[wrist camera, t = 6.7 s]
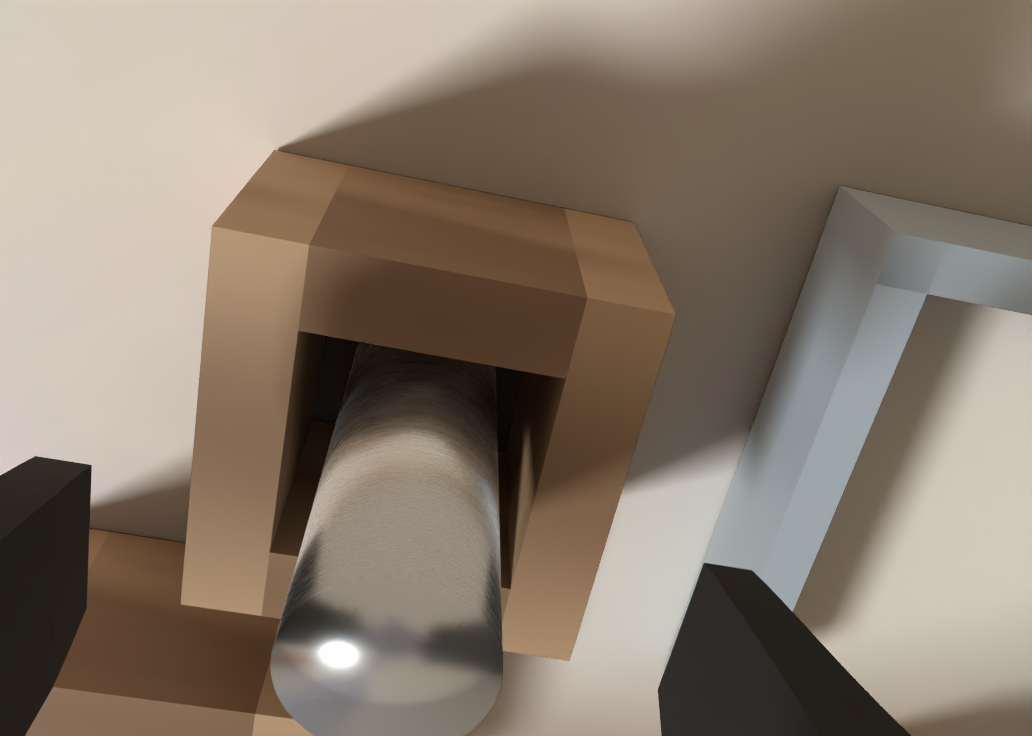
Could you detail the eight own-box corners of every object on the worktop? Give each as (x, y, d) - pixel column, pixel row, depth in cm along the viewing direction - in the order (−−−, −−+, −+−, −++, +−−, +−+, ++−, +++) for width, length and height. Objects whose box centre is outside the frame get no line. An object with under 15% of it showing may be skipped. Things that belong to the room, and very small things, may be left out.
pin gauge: (479, 420, 18) (475, 771, 11) (349, 394, 18) (256, 737, 10) (508, 302, 17) (526, 601, 10) (371, 273, 17) (287, 559, 9)
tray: (1117, 732, 22) (1189, 828, 20) (664, 666, 21) (686, 760, 18) (1395, 303, 17) (1529, 363, 15) (839, 185, 16) (896, 232, 14)
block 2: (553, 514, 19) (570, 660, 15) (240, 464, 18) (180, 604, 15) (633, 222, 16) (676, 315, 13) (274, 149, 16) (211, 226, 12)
